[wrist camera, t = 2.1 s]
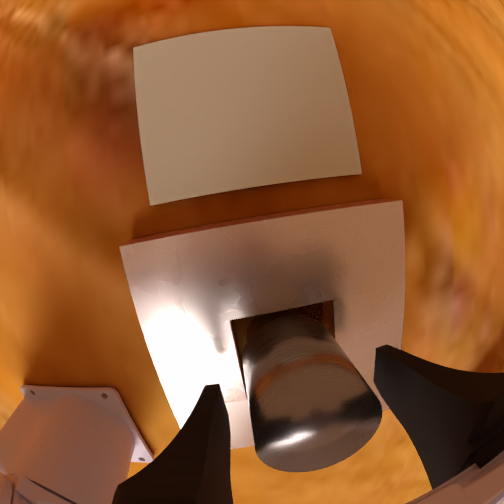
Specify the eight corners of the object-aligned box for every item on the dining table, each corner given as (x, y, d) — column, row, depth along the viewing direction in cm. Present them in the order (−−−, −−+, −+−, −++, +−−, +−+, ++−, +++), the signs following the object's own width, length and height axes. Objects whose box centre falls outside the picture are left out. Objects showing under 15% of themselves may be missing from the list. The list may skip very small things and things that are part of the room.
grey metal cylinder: (246, 376, 17) (264, 481, 9) (232, 307, 16) (244, 406, 8) (322, 360, 17) (374, 451, 9) (317, 290, 16) (388, 368, 8)
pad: (152, 205, 14) (150, 205, 14) (135, 51, 12) (133, 47, 12) (357, 174, 15) (361, 174, 14) (327, 31, 13) (330, 27, 12)
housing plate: (193, 432, 17) (192, 452, 15) (131, 239, 14) (119, 246, 12) (380, 391, 18) (392, 407, 16) (383, 198, 15) (402, 200, 13)
